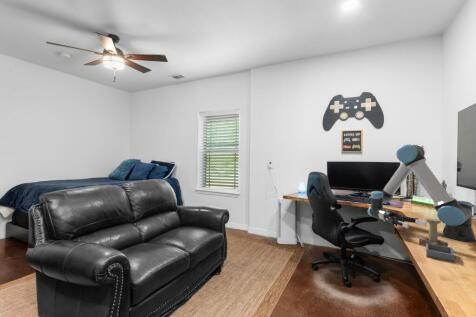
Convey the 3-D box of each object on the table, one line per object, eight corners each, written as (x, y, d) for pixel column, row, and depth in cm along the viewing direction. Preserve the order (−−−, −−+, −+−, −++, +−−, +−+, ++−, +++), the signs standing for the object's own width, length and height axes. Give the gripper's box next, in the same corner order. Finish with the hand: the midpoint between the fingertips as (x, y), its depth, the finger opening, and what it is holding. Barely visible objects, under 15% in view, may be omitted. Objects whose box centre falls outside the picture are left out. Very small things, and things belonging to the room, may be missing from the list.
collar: (432, 242, 140) (432, 237, 140) (447, 247, 132) (447, 242, 132) (419, 243, 138) (419, 238, 138) (434, 249, 130) (434, 244, 130)
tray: (426, 249, 130) (426, 243, 130) (451, 254, 123) (452, 247, 123) (426, 256, 121) (426, 250, 120) (454, 262, 114) (454, 255, 114)
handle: (426, 243, 139) (426, 217, 138) (440, 245, 135) (440, 219, 134) (425, 245, 135) (425, 219, 135) (440, 248, 131) (440, 221, 131)
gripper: (402, 220, 167) (433, 229, 147) (372, 222, 162) (400, 232, 141) (402, 209, 167) (433, 217, 147) (372, 211, 162) (400, 220, 141)
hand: (417, 225), depth 144 cm, fingers open, 13 cm apart
